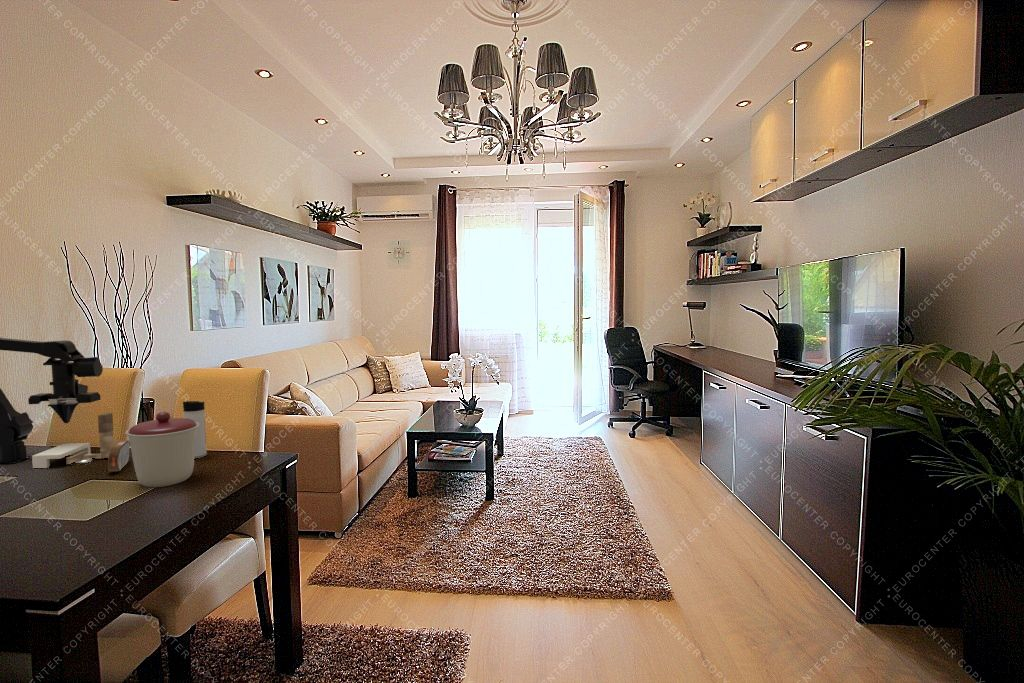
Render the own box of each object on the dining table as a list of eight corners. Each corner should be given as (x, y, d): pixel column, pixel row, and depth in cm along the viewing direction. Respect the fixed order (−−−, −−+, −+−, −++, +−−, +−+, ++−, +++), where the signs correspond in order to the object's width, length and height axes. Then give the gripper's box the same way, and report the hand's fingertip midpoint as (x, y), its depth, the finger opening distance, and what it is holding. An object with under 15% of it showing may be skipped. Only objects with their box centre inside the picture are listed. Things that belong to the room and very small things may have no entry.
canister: (182, 467, 163) (180, 403, 161) (213, 478, 154) (211, 410, 152) (116, 485, 147) (112, 414, 146) (146, 497, 138) (142, 422, 136)
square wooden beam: (66, 464, 164) (63, 419, 163) (84, 456, 172) (82, 413, 171) (98, 463, 165) (95, 418, 164) (114, 455, 174) (112, 413, 173)
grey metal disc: (71, 466, 165) (71, 462, 164) (81, 462, 169) (80, 457, 169) (86, 465, 165) (86, 461, 165) (95, 461, 170) (95, 457, 169)
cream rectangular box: (32, 469, 160) (32, 455, 160) (65, 456, 174) (64, 443, 174) (60, 468, 162) (60, 454, 161) (90, 455, 175) (90, 442, 175)
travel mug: (179, 459, 171) (177, 401, 170) (197, 453, 178) (194, 398, 176) (194, 461, 169) (191, 402, 168) (211, 455, 176) (208, 399, 174)
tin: (121, 462, 168) (119, 437, 168) (132, 460, 170) (131, 436, 169) (107, 476, 155) (105, 449, 154) (119, 474, 156) (118, 448, 155)
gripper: (109, 373, 180) (112, 416, 181) (51, 374, 177) (54, 418, 178) (87, 378, 169) (90, 424, 170) (25, 379, 166) (28, 426, 167)
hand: (66, 423), depth 172 cm, fingers closed
